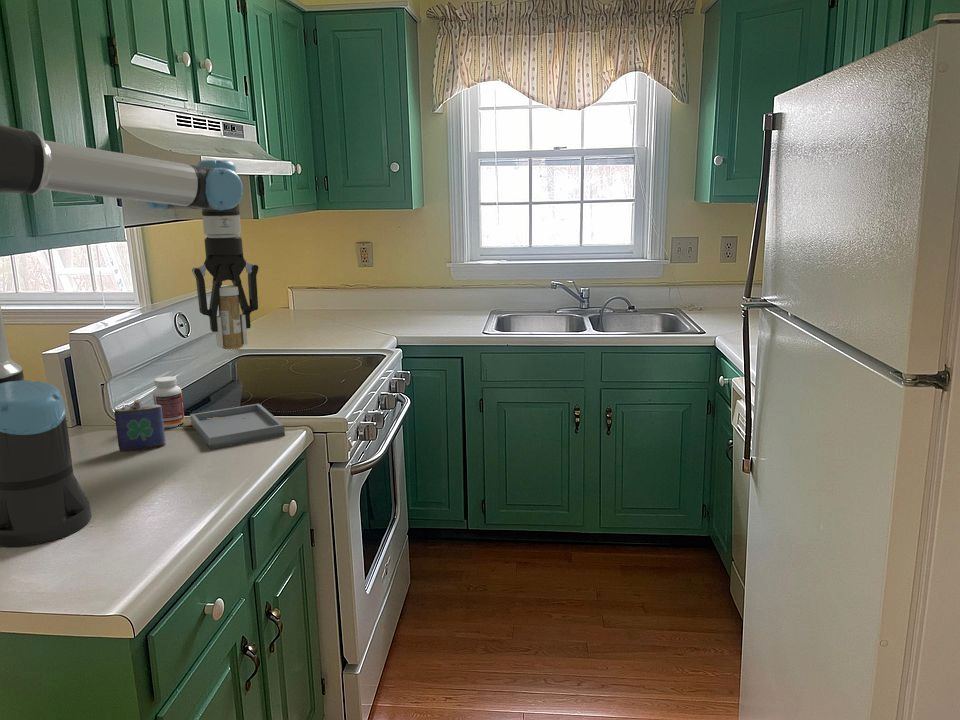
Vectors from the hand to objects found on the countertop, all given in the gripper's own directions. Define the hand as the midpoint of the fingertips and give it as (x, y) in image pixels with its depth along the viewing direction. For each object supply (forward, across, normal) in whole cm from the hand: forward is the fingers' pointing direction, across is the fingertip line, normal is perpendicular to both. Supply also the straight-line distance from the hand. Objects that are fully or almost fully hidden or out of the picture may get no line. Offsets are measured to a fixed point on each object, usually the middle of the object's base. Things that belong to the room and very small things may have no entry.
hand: (232, 344), depth 165 cm
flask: (+21, -20, +3) cm, 29 cm away
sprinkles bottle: (+1, 0, 0) cm, 1 cm away
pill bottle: (+21, -12, +16) cm, 29 cm away
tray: (+20, 0, +4) cm, 21 cm away
